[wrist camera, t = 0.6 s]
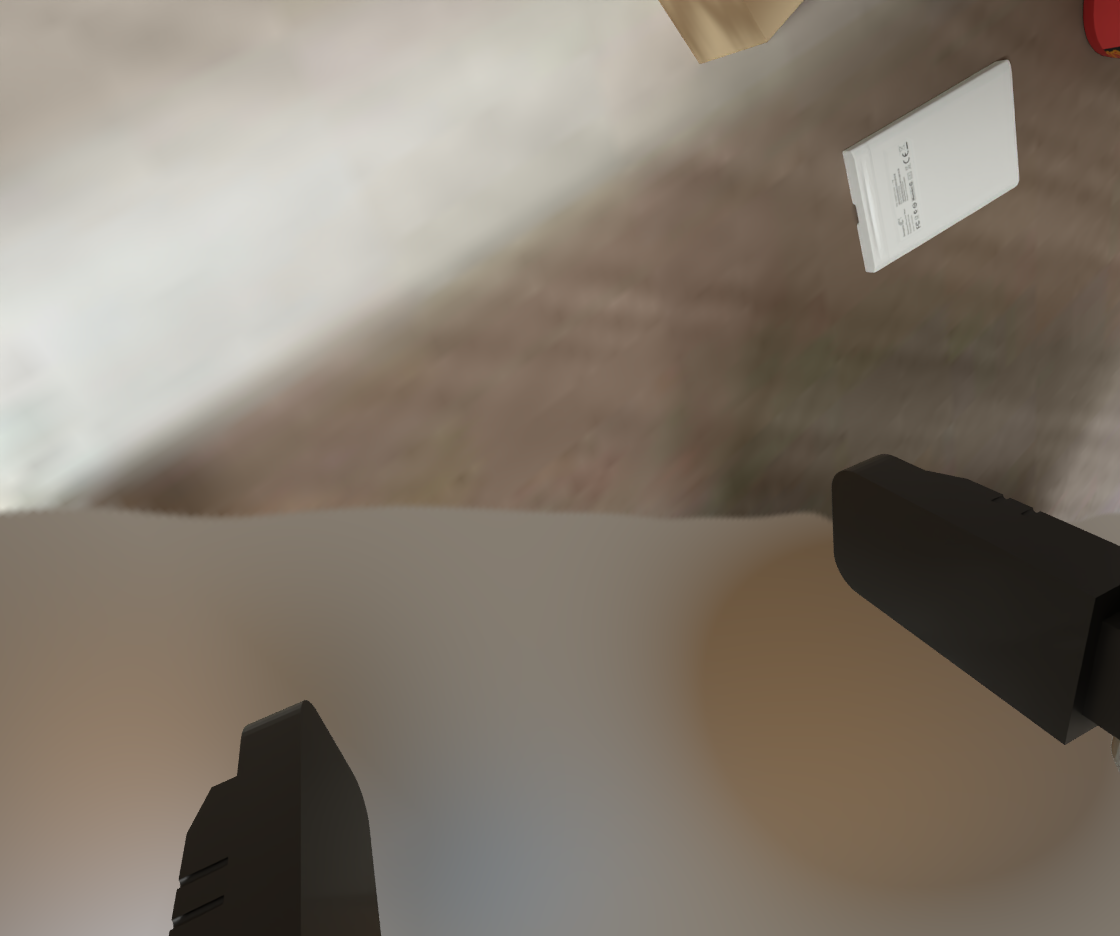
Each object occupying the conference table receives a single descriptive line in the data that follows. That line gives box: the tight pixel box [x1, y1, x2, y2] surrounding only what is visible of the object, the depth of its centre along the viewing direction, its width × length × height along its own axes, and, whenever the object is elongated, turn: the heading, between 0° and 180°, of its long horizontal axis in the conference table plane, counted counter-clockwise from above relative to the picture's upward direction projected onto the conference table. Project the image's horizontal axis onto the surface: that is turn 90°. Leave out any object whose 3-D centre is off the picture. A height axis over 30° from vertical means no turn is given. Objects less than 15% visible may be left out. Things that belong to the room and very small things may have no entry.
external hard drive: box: [843, 60, 1019, 273], centre depth 43 cm, size 2×8×12 cm
